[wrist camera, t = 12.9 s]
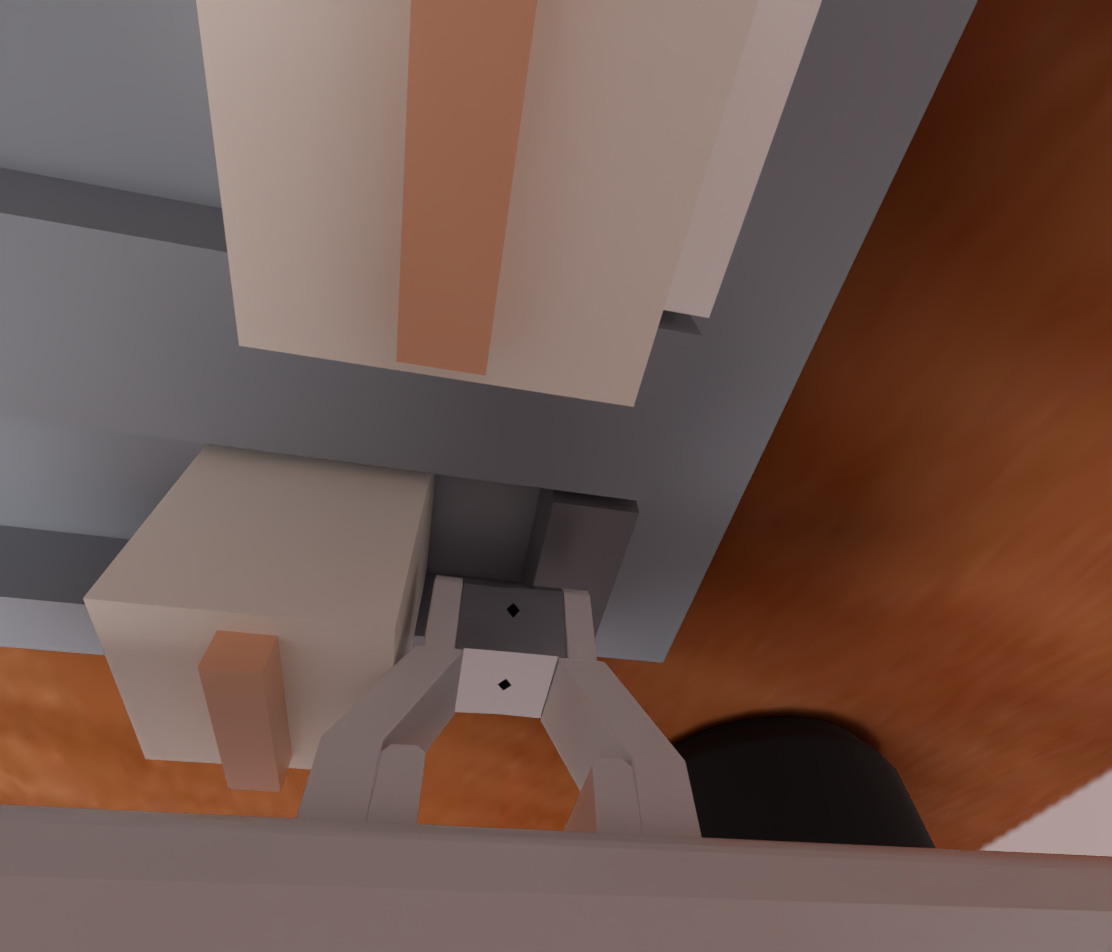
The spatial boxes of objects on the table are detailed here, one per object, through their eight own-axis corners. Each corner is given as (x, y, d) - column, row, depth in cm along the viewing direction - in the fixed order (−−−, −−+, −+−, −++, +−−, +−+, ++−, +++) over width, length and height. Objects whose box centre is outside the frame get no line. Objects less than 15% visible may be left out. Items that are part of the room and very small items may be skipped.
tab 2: (357, -110, 8) (103, -328, 3) (659, -30, 8) (824, -116, 4) (358, 220, 10) (213, 373, 5) (593, 264, 10) (641, 437, 6)
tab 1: (234, 407, 12) (53, 635, 7) (438, 436, 12) (386, 664, 8) (255, 553, 14) (126, 794, 10) (426, 572, 15) (380, 808, 10)
